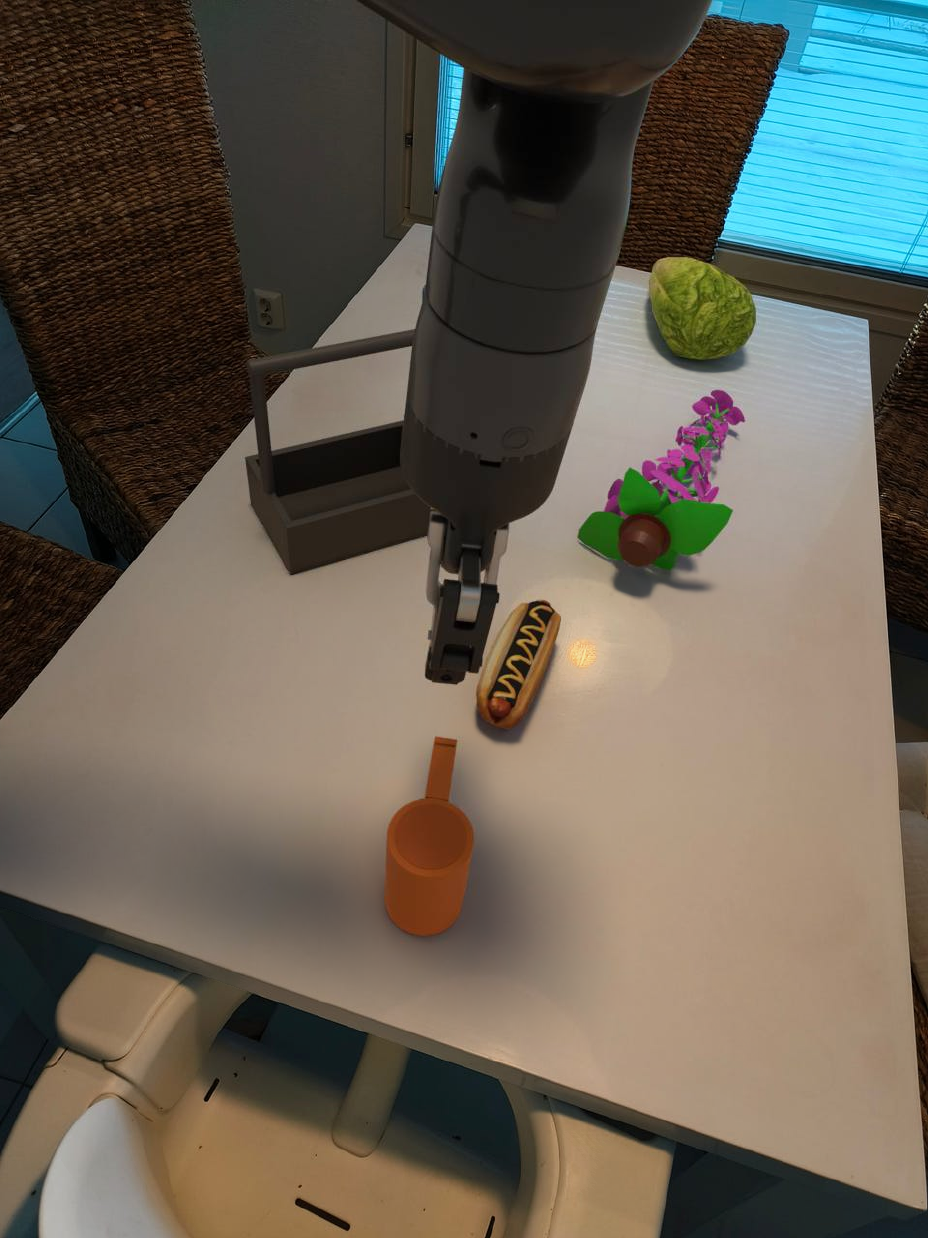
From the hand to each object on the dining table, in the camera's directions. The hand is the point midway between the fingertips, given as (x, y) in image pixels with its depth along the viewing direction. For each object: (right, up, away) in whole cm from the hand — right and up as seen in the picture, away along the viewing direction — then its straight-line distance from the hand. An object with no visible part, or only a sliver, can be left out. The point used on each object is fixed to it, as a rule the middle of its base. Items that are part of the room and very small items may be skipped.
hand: (446, 616), depth 50 cm
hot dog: (+5, -6, +25) cm, 26 cm away
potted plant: (+24, +13, +45) cm, 53 cm away
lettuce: (+32, +42, +73) cm, 90 cm away
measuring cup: (-2, -18, +13) cm, 22 cm away
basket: (-11, +11, +39) cm, 41 cm away
